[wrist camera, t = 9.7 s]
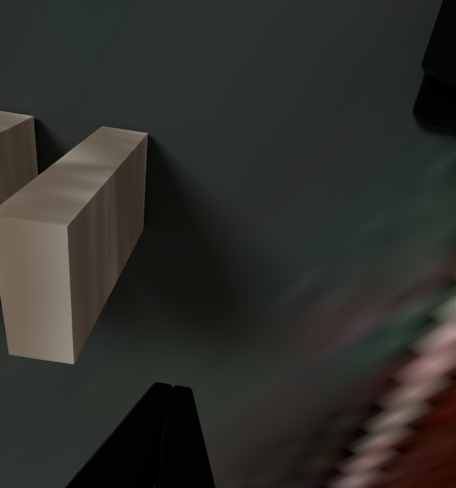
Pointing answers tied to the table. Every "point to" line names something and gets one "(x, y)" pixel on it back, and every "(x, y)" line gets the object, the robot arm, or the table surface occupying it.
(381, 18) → the table surface
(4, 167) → the domino
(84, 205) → the domino
